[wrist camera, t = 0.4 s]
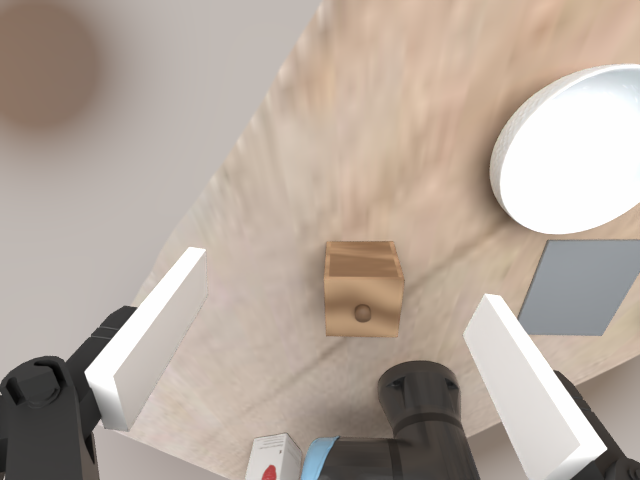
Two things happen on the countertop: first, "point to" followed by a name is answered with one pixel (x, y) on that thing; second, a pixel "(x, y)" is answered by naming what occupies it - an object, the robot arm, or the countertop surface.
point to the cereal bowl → (572, 152)
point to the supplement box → (274, 459)
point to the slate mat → (579, 286)
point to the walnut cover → (362, 289)
